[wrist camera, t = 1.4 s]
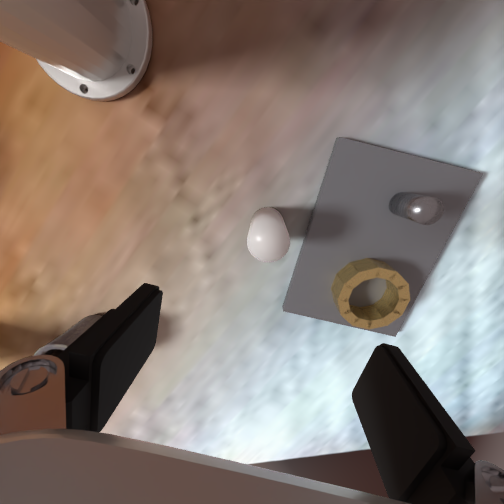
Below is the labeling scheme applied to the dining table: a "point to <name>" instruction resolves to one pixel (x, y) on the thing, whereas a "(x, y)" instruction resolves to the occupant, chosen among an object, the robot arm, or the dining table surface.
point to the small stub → (417, 207)
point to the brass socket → (381, 310)
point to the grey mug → (67, 337)
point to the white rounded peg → (268, 235)
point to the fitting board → (373, 227)
